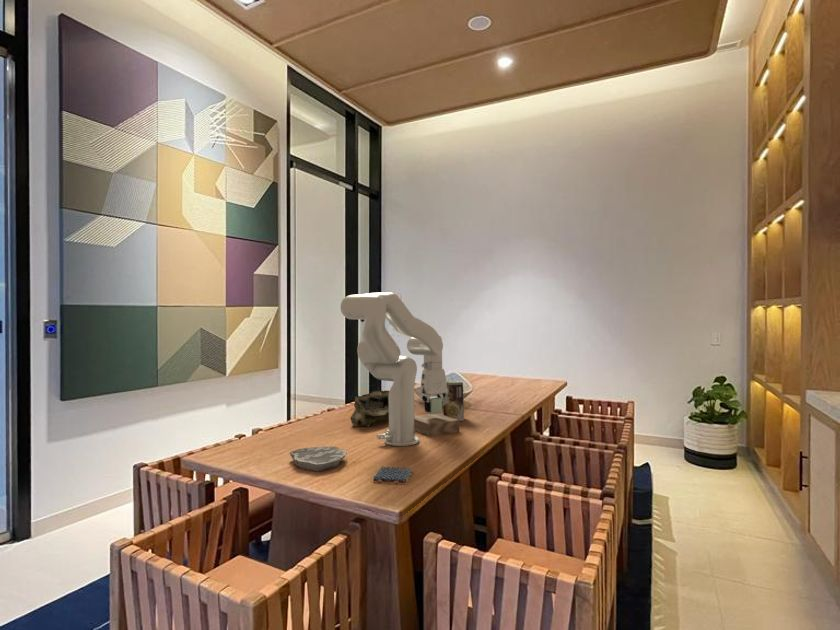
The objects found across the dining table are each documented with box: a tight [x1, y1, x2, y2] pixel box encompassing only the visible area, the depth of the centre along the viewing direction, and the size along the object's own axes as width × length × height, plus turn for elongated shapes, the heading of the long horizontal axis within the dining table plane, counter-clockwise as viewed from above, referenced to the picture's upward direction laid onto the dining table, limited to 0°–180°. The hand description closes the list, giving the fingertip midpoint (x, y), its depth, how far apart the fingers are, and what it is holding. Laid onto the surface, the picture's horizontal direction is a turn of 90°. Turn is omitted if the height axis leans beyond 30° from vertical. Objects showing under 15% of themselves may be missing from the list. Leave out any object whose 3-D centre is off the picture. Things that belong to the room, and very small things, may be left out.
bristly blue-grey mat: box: [372, 465, 415, 485], centre depth 140 cm, size 10×11×2 cm
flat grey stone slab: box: [289, 446, 348, 472], centre depth 155 cm, size 20×17×3 cm
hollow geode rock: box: [349, 389, 390, 427], centre depth 213 cm, size 28×13×15 cm
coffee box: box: [442, 381, 465, 422], centre depth 214 cm, size 9×6×16 cm
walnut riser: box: [414, 413, 460, 437], centre depth 196 cm, size 14×16×5 cm
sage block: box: [424, 395, 443, 415], centre depth 196 cm, size 5×5×6 cm
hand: (433, 410), depth 196 cm, fingers closed on sage block, 5 cm apart
